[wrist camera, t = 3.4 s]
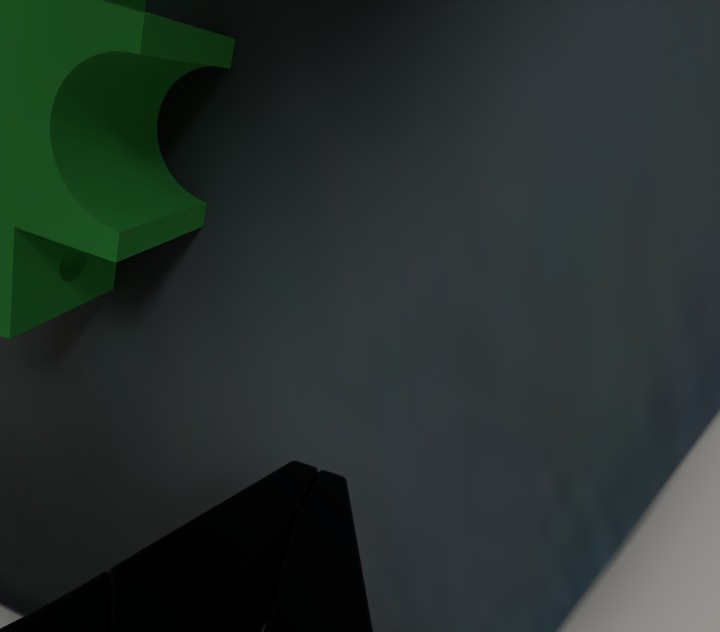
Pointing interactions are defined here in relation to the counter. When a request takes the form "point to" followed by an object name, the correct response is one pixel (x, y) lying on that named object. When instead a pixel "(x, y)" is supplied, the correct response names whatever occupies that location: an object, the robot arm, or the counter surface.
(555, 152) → the counter surface
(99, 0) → the pipe clamp
